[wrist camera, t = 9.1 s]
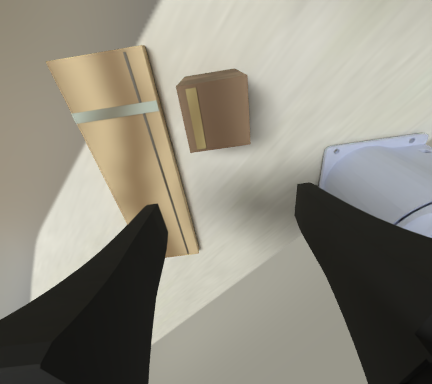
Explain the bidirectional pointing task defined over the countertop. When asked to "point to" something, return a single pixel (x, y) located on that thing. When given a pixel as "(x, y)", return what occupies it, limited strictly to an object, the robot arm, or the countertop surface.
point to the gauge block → (215, 109)
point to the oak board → (128, 135)
